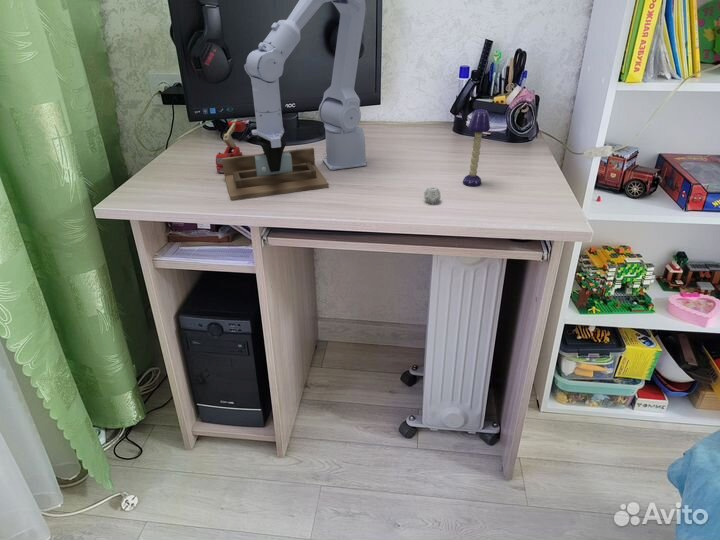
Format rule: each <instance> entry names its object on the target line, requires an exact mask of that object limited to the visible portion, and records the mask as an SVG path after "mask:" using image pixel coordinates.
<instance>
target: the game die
mask: <svg viewBox="0 0 720 540" xmlns="http://www.w3.org/2000/svg"><path fill="white" fill-rule="evenodd" d="M423 198H424V200H425V202H426V203H428V204H431V205H433V204H436V203H438V202H439V200H441V192H440V189H439V188H438V187H435V186H430V187H427V188H426V189H425V191H424V192H423Z"/></svg>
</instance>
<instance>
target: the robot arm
mask: <svg viewBox="0 0 720 540" xmlns="http://www.w3.org/2000/svg"><path fill="white" fill-rule="evenodd" d="M330 2H331V3H332V4H333V6H335V8H336V10H337V12H338V13H339V22H338V23H339V24H338V30H337V38H336V47H335V52H334V53H335V54H334V61H333V68H332V76H331V83H330V86H328V88H327V89H326V90H325V91H324V92H323V98H322V99H321V100H322V101H321V103H320V104H319V107H318V116H319V119H320V121H322V123H323V127H324V129H325V131H324V132H325V133H324V134H325V148H326V150H325V151H326V154H325V155H326V157H324V158H322V162H323V163H324V164H325V166H326V167H327V168H328V170H329V171H335V170H342V169H351V168H357V167H365V166H367V163H366V136H365V131H364V129H363V128H362V126H359V125H360V122H361V118H362V114H361V109H360V106H361V99H360V97H359V95H358V94H357V93H356V91H355V85H356V78H357V71H358V66H359V65H358V63H359V59H360V57H359V56H360V51H361V45H362V38H363V32H364V31H363V30H364V24H365V16H366V10H367V9H366V8H367V7H366V0H298V2H297V3H296V5H295V7H294V8H293V10H292V11H291V13H290V14H289V15H288V17H287V18H286V19H279V20H278V21H277V22H273V23H272V25H271V27H270V28H271V30H270V32H269V33H268V35H267V36H266V37H265V38H264V39H263V41H262V42H259V44H258V46H257V47H258V48H257V49H254V50H252V51H251V52H250V53H249V54H248V55H247V58H246V61H245V64H244V65H243V67H244V70H245V72H246V74H247V75H248V76H249V78H250V82H251V87H252V97H253V107H254V114H255V116H254V117H255V123H256V129H252V130H251V134H252V135H253V136H256V140H257V141H258V143H259V145H260V147H261V149H262V151H263V153H264V155H266V158H267V162H268V166H269V169H270V171H271V172H276V171H280V167H281V159H282V153H283V151H285V147H286V145H287V142H286V140H282V138H283V135H284V133H285V128H284V126H283V125H284V124H283V116H282V114H283V113H282V104H281V93H280V82H279V81H280V79H279V78H280V77H282V75H283V73H284V65H285V62H286V60H287V59H288V57H289V56H290V55H291V53H292V52H293V51H294V50H295V48H296V46H297V45H298V44H299V43H300V41H301V30H302V29H303V28H304V26H305V25H306V24H307V23H308V22H309V21H310V20H311V19H312V17H313V16H314V15H315V14H316V12H317V11H318V10H319V9H320V7H322V5H323V4H324V3H330Z"/></svg>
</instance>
